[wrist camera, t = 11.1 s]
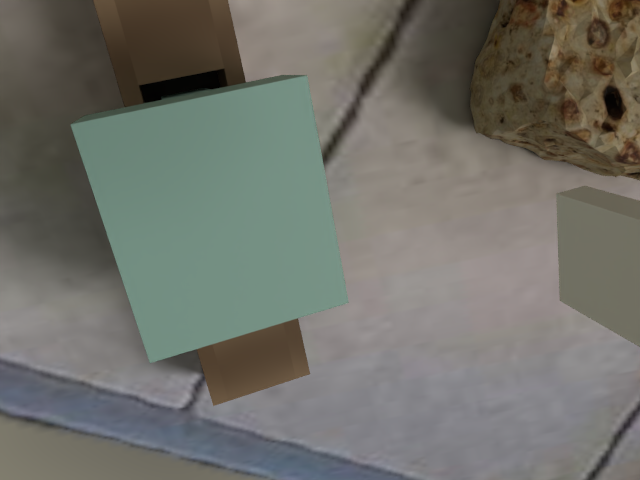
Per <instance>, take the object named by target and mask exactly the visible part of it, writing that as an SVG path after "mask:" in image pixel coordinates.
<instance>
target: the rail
mask: <svg viewBox="0 0 640 480" xmlns="http://www.w3.org/2000/svg"><path fill="white" fill-rule="evenodd" d="M93 2H94V5H95V9H96V12H97V15H98V19H99V22H100V25H101V29H102V32H103V35H104V39H105V42H106V46H107V49H108V52H109V56H110V59H111V62H112V66H113V69H114V73H115V76H116V79H117V83H118V86H119V89H120V93H121V96H122V99H123V103H124V106H125V107H129V106H134V105H139V104H144V103H145V100H144V97H143V93H142V90H141V86H140V85H143V84H148V83H153V82H158V81H163V80H168V79H174V78H179V77H184V76H189V75H194V74H199V73H204V72H209V71H214V70H217V74H218V78H219V82H220V87H221V88H222V87H227V86H231V85H236V84H241V83H246V81H245V76H244V72H243V67H242V63H241V58H240V54H239V49H238V45H237V40H236V36H235V31H234V27H233V22H232V18H231V13H230V8H229V4H228V0H93ZM197 352H198V355H199V359H200V362H201V365H202V369H203V372H204V375H205V379H206V382H207V386H208V389H209V392H210V396H211V399H212V402H213V406H214V405H217V404H220V403H223V402H227V401H230V400H233V399H236V398H239V397H242V396H245V395H248V394H251V393H254V392H257V391H260V390H263V389H266V388H269V387H272V386H275V385H278V384H281V383H284V382H287V381H290V380H293V379H296V378H299V377H302V376H305V375H309V374H310V371H309V367H308V362H307V358H306V353H305V349H304V344H303V340H302V335H301V330H300V326H299V321H298V318H297V319H294V320H290V321H287V322H284V323H281V324H277V325H274V326H271V327H267V328H264V329H261V330H258V331H254V332H251V333H248V334H244V335H241V336H238V337H235V338H231V339H228V340H225V341H221V342H218V343H215V344H212V345H208V346H205V347H202V348H198V349H197Z"/></svg>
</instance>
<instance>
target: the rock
mask: <svg viewBox="0 0 640 480" xmlns="http://www.w3.org/2000/svg"><path fill="white" fill-rule="evenodd" d="M470 90H471V102H470V108H471V112H472V115H473V119H474V128H475V131H476V133H481V134H483V135H485V136H487V137H489V138H491V139H500V140H501V141H503V142H504V143H507V144H511V145H514V146H519V147H524V148H527V149H529V150H531V151H533V152H534V153H536V154H537V155H538V156H540V157H541V158H542V159H544V160H554V161H564V162H569V163H571V164H573V165H576V166H578V167H580V168H582V169H584V170H587V171H590V172H593V173H596V174H599V175H603V176H615V177H617V176H620V175H621V176H625V177H630V178H633V179H637V180H640V0H500V3H499V8H498V11H497V13H496V15H495V17H494V20H493V22H492V24H491V28H490V31H489V34H488V37H487V40H486V42H485V44H484V46H483V48H482V50H481V52H480V54H479V55H478V57H477V59H476V61H475V67H474V73H473V77H472V81H471V85H470Z"/></svg>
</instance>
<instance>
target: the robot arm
mask: <svg viewBox="0 0 640 480" xmlns="http://www.w3.org/2000/svg"><path fill="white" fill-rule="evenodd" d="M556 197H557V228H558V258H559V289H560V301H561V302H563V303H565V304H567V305H568V306H570V307H572V308H574V309H575V310H577V311H579V312H580V313H582V314H584V315H586V316H587V317H589V318H591V319H593V320H594V321H596V322H598V323H599V324H601V325H603V326H605V327H606V328H608V329H610V330H612V331H613V332H615V333H617V334H618V335H620V336H622V337H624V338H625V339H627V340H629V341H631V342H632V343H634V344H636V345H637V346H639V347H640V201H638V200H634V199H631V198H627V197H624V196H620V195H616V194H613V193H609V192H606V191H602V190H598V189H595V188H591V187H587V186H582V187H579V188H575V189H572V190H568V191H564V192H561V193H557V194H556Z"/></svg>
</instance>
